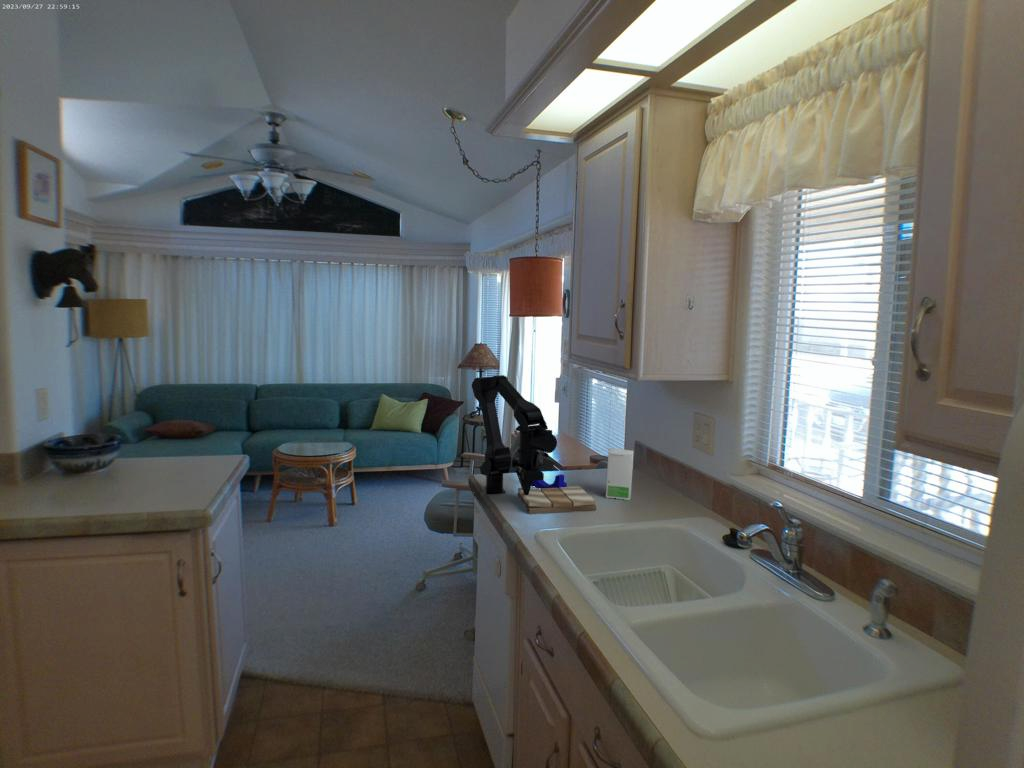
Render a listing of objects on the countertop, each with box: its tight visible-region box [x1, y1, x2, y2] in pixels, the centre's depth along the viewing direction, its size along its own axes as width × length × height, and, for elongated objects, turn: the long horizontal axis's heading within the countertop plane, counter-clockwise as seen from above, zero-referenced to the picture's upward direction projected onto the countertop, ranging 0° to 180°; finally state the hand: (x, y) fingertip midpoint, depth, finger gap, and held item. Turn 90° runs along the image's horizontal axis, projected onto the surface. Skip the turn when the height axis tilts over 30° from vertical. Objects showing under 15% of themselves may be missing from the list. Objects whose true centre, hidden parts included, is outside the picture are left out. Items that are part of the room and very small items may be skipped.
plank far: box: [559, 485, 596, 506], centre depth 194 cm, size 16×7×1 cm, turn 11°
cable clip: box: [531, 474, 568, 488], centre depth 209 cm, size 12×4×6 cm, turn 49°
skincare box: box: [605, 447, 634, 501], centre depth 200 cm, size 8×7×16 cm
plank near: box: [517, 486, 552, 507], centre depth 191 cm, size 16×7×1 cm, turn 11°
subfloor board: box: [516, 491, 597, 515], centre depth 193 cm, size 18×21×2 cm
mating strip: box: [540, 488, 572, 507], centre depth 193 cm, size 16×6×1 cm, turn 11°
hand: (526, 495), depth 191 cm, fingers closed, pressing on plank near
